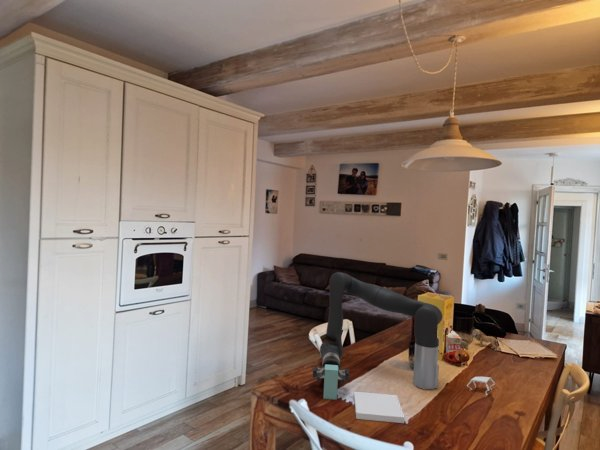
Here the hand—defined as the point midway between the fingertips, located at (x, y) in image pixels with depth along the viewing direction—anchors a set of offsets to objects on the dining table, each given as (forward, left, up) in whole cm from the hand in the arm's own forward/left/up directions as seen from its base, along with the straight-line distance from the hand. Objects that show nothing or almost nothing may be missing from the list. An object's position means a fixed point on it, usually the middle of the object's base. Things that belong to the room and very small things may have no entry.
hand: (330, 380), depth 144 cm
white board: (-17, +5, -7) cm, 19 cm away
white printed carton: (-60, -60, -7) cm, 85 cm away
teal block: (0, -2, -7) cm, 7 cm away
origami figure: (-63, -18, -7) cm, 66 cm away
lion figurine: (-85, -76, -7) cm, 114 cm away
